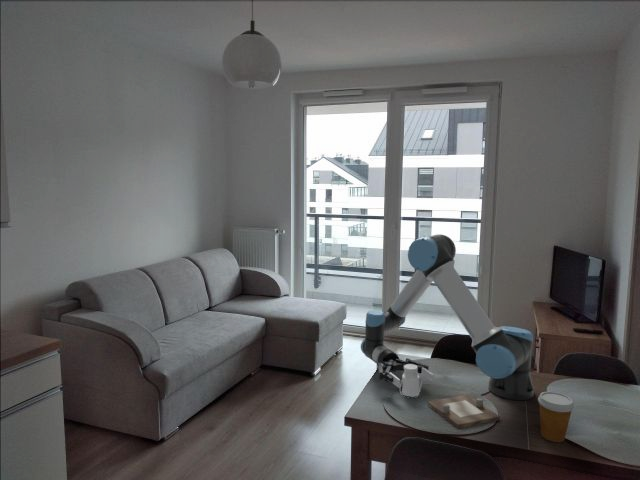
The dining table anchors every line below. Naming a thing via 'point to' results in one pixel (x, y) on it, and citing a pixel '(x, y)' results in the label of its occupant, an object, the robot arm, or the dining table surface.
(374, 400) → the dining table surface
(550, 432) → the disposable coffee cup
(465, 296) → the robot arm
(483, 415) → the pin stand
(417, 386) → the downlight
